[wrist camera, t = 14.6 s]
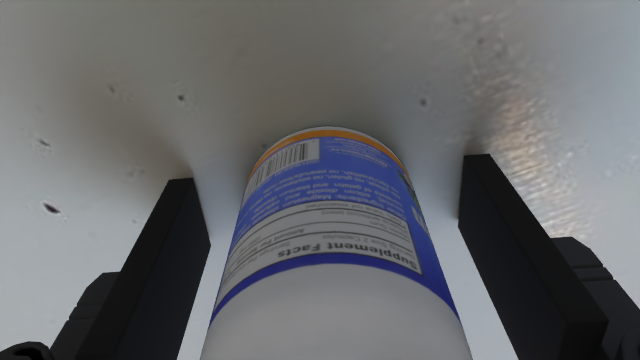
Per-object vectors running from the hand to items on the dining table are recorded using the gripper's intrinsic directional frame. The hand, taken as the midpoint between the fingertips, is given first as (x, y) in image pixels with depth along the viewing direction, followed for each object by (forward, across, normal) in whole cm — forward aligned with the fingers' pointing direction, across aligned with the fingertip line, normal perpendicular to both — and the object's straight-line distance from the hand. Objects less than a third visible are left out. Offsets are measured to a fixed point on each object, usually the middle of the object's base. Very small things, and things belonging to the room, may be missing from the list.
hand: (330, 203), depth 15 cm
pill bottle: (0, 0, 0) cm, 0 cm away
